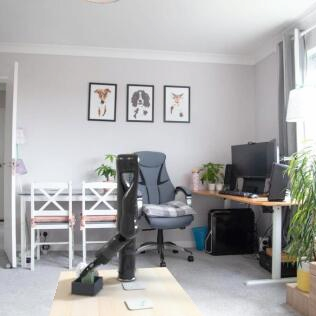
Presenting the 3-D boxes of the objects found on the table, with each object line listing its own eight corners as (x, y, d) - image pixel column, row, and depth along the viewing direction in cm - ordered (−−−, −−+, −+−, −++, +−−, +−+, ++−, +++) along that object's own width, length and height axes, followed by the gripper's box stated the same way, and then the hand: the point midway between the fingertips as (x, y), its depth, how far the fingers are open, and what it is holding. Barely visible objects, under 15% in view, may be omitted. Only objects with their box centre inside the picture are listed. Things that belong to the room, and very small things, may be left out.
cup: (84, 287, 172) (84, 268, 173) (95, 288, 171) (95, 269, 172) (79, 291, 167) (79, 272, 167) (90, 292, 166) (91, 273, 166)
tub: (80, 285, 176) (81, 274, 176) (102, 287, 174) (102, 276, 174) (71, 294, 164) (71, 282, 165) (94, 296, 162) (94, 284, 163)
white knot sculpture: (78, 275, 191) (78, 259, 191) (100, 275, 192) (100, 259, 192) (74, 282, 180) (75, 265, 180) (98, 282, 181) (98, 265, 181)
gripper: (108, 243, 174) (87, 263, 177) (95, 250, 161) (73, 272, 164) (118, 254, 173) (96, 275, 176) (105, 262, 159) (82, 284, 162)
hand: (85, 273), depth 170 cm, fingers open, 8 cm apart
